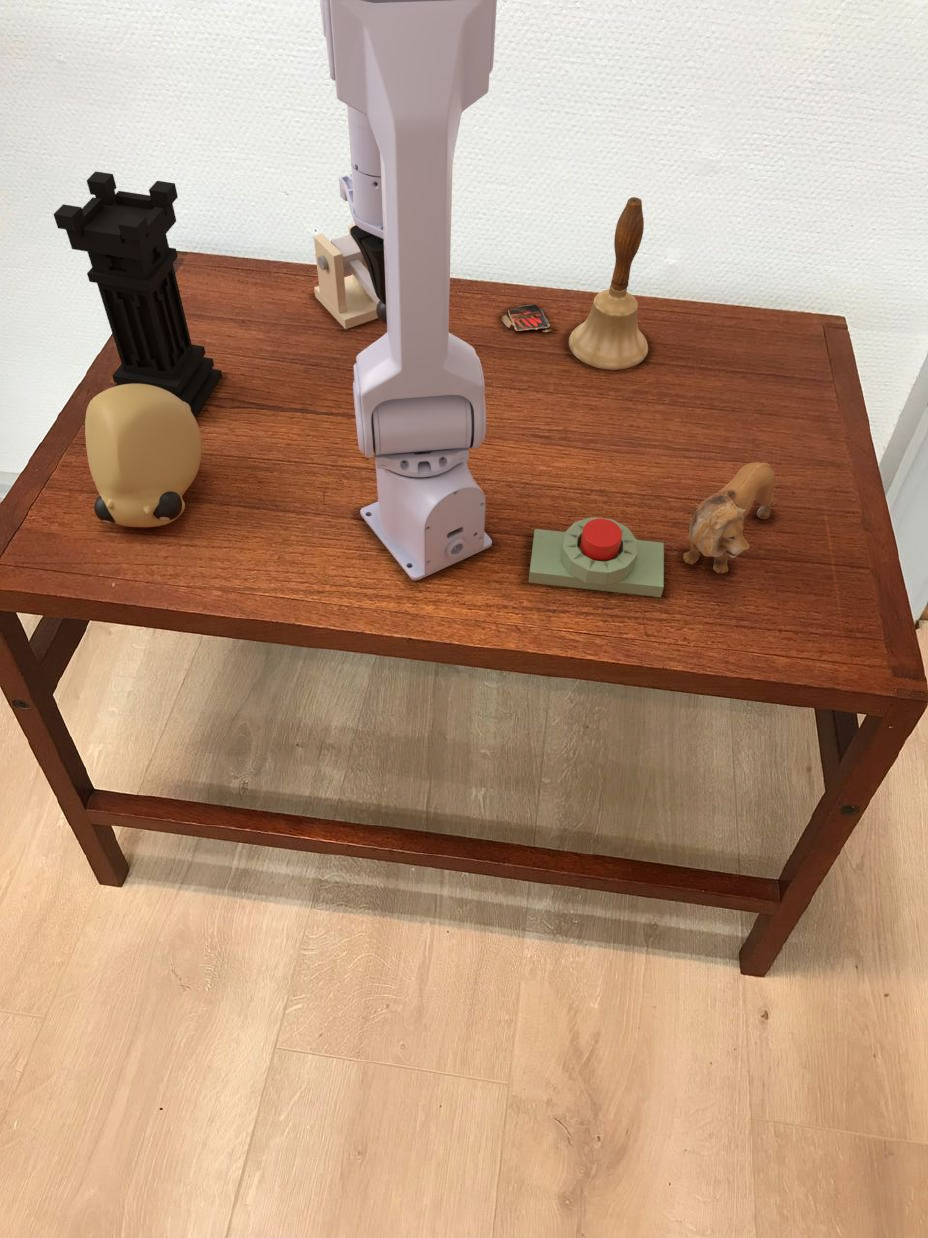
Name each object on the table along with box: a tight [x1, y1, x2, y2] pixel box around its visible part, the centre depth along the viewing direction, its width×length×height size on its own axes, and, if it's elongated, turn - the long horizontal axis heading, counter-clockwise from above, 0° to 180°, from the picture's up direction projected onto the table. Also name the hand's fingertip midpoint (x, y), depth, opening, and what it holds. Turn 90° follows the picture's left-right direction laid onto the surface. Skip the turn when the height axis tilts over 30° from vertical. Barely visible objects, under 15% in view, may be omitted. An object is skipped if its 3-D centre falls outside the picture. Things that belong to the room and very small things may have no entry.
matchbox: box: [500, 303, 553, 333], centre depth 104 cm, size 5×5×1 cm
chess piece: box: [52, 170, 223, 420], centre depth 88 cm, size 8×8×20 cm
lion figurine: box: [682, 461, 776, 574], centre depth 81 cm, size 15×5×9 cm, turn 151°
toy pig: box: [84, 384, 203, 528], centre depth 83 cm, size 10×12×11 cm
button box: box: [527, 516, 665, 598], centre depth 81 cm, size 11×6×3 cm, turn 83°
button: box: [580, 518, 622, 561], centre depth 80 cm, size 3×3×2 cm
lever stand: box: [313, 223, 379, 330], centre depth 102 cm, size 7×6×8 cm
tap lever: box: [330, 234, 387, 326], centre depth 99 cm, size 12×3×3 cm, turn 33°
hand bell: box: [568, 196, 649, 371], centre depth 96 cm, size 8×8×16 cm
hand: (389, 297), depth 96 cm, fingers closed, pressing on tap lever
